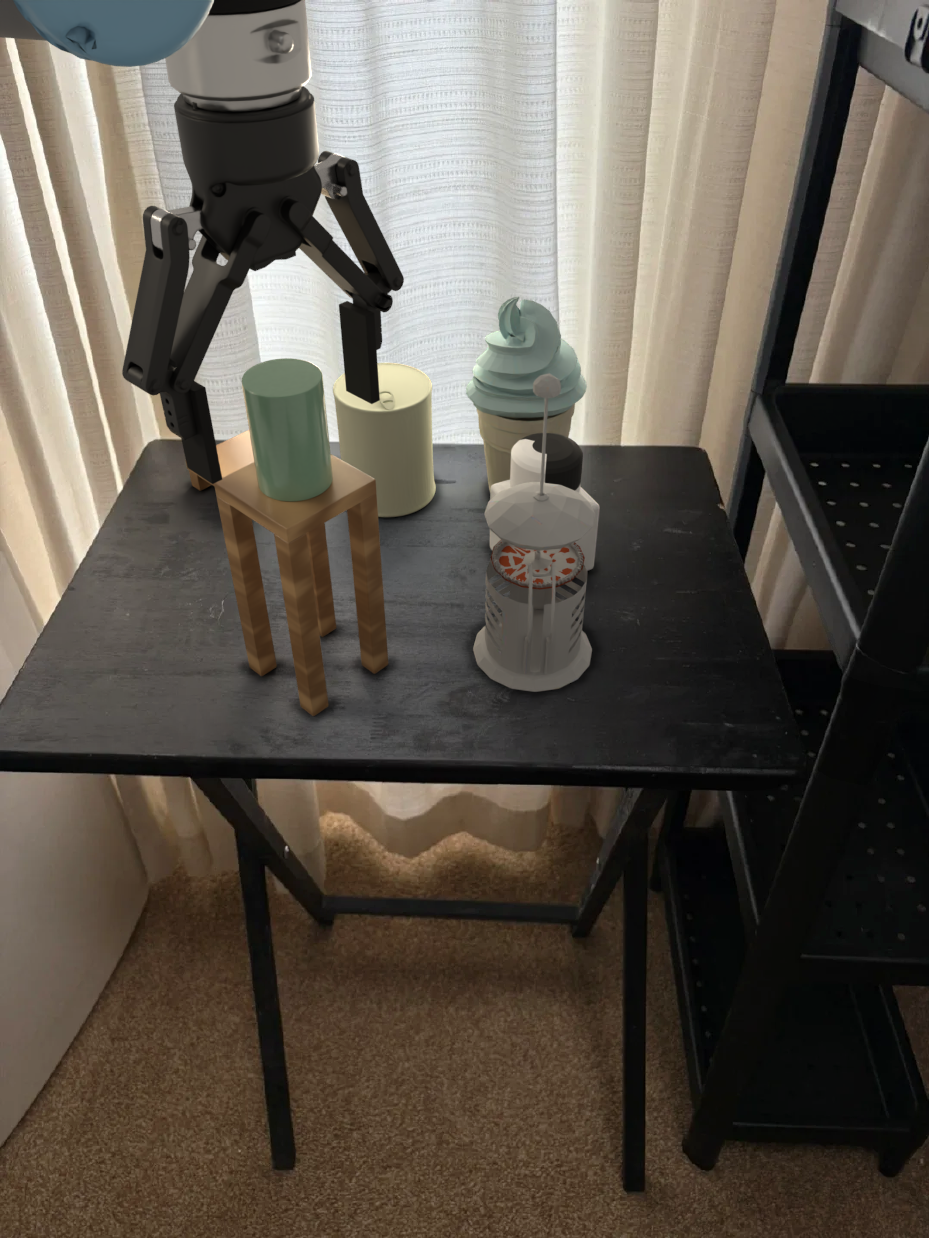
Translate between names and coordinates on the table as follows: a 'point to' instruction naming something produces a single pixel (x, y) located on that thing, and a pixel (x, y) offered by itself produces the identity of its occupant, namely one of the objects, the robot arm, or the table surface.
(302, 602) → the front shelf
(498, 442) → the ice cream cone
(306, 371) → the green cylinder
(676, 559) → the table surface
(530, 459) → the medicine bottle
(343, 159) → the robot arm
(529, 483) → the french press
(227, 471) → the stand
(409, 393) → the can
